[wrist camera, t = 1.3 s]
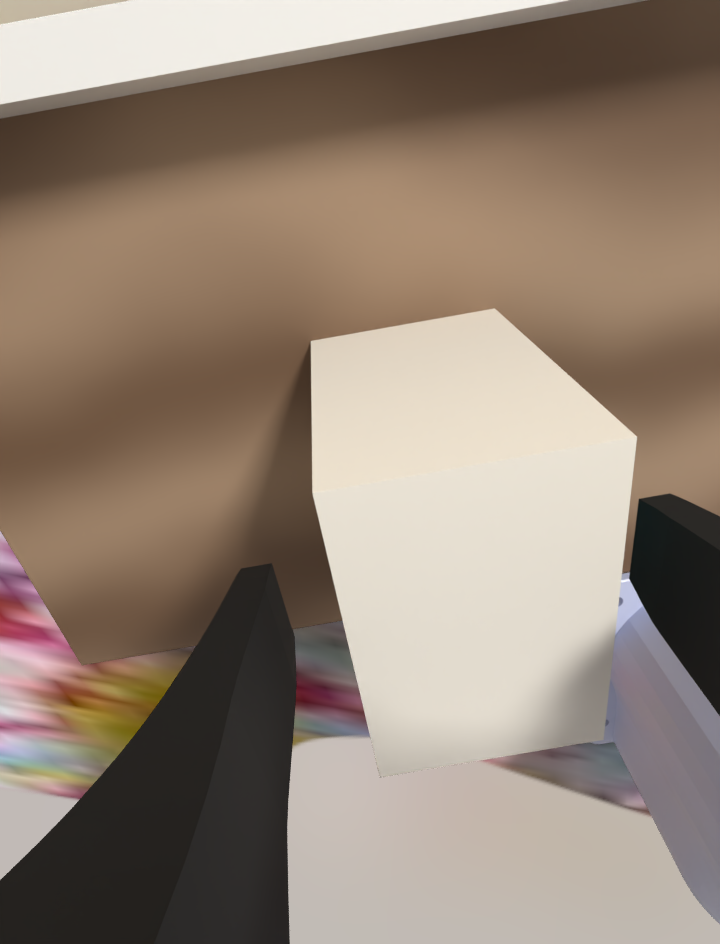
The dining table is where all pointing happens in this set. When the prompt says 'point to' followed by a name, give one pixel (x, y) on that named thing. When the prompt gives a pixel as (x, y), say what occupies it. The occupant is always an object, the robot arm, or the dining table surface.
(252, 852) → the robot arm
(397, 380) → the carton
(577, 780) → the dining table surface
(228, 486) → the brown tray
